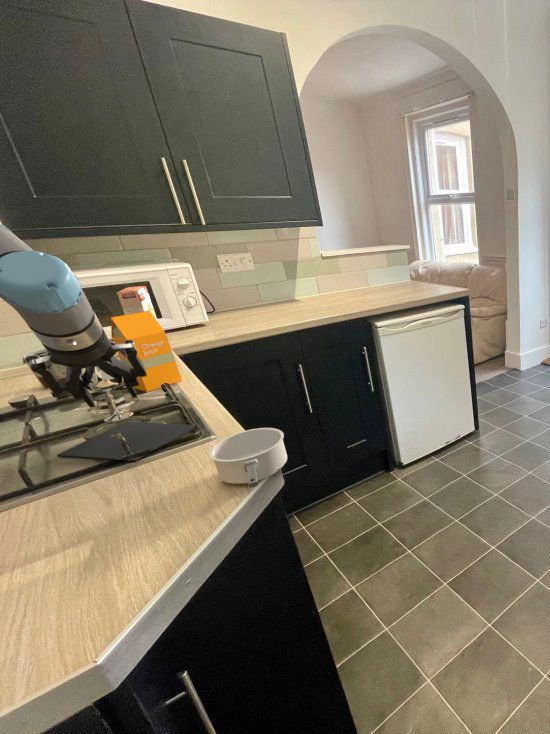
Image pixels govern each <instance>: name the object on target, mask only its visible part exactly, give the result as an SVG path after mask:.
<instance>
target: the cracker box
mask: <svg viewBox="0 0 550 734" xmlns="http://www.w3.org/2000/svg"><path fill="white" fill-rule="evenodd" d="M116 295H117V297H118V300H119V303H120V306H121V308H122V311H123V315H127V314H132V313H137V312H143V311H148V310H150V312H151V313H152V315H153V316H154V318H155V319H156V320H157V322H158V323H159V321H158V317H157V315H156V312H155V309H154V306H153V303H152V299H151V297H150V293H149V291H148V288H147V286H146V285H139V286H127V287H125V288H123V289H121V290H119V291H118V292H116Z"/></svg>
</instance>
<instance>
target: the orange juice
mask: <svg viewBox="0 0 550 734" xmlns="http://www.w3.org/2000/svg"><path fill="white" fill-rule="evenodd" d="M157 321H158V319H157V320H156V319H155V318H154V316H153V315H152V313H151V312H150V310H148V311H143V312H137V313H132V314H127V315H125V314H122V315H117V316H111V317H110V328H111V331H110V333H111V341H112V342H114V343H115V344H125V341H126V340H133V341H134V344H135V347H136V350H137V355H138V357H139V358H140V360H141V361H142V363H143V365H144V368H145V371H146V374H147V376H145V377H140V376H138V377H137V379H138V382H139V386H134V388H135V390H137V391H141V392H146V393H148V392H151V391H154V390H157V389H160V388H162V387H161V385H162V384H164V383H169V384H170V385H173V384H175V383H178V382H182V381H183V380H182V375H181V374H180V370H179V368H178V364H177V362H176V359H175V356H174V353H173V350H172V348H171V345H170V342H169V340H168V336H167V333H166V331H165V329H164V328H163V327H162V326H161V324H160V323H159V321H158V322H157ZM117 355H118V357H119V360H121V361H122V362H124V363H125V364H127V365H128V366H130V367H131V368H133V366H132V365H131V363H130V362H129V360H128V358H127V357H125V356H124V354H121V352H119V351H117Z"/></svg>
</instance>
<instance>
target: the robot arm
mask: <svg viewBox="0 0 550 734" xmlns="http://www.w3.org/2000/svg"><path fill="white" fill-rule="evenodd" d="M0 298H1V300H3V301H4V302H5V303H6V304H8V305H9V306H11V307H12V308H13V310H15V311H16V312H17V314H18V315H19V316H20V317H21V318H22V320H23V321H24V322H25V323H26V325H27V326H28V328H29V329H30V330H31V332H32V333H33V334H34V336H35V337H36V338H37V339H38V341H40V343H41V345H42V346H43V347H44V349H46V350H47V351H48V356H44V357H39V356H36V355H33V356H29V357H28V359H29V362H30V366H31V369H30V370H31V372H32V371H34V372H36V373H38V374H40V375H41V376H42V377H43V379H44V380H45V382H46V383H47V385H48V386H49V388H50V389H49V390H50V391H51V393H52V394H53V395H56V396H58V395H62V394H63V393H65V392H66V393H69V394H70V395H71V396H72V397H73V399H76V400H78V399H83V401H84V402H86V404H87V406H88V407H89V408H90V409H91V408H95V407H96V404H95V401H94V398H93V395H92V393H91V391H90V390H88V389H87V388H85V386H84V385H83V384H82V382H81V380H79V379H80V374H81V372H82V369H84V368H88V367H91V366H102V367H103V368H105V369H110V370H112V371H113V372H115V373H117V374H118V375H120V376H122V381H123V383H124V385H125V387H126V389H127V390H128V392H129V394H130V396H131V397H132V398H133V399H135V398H138V395H137V392H136V389H135V388H134V386H139V382H138V379H137V377H138V376H140V377H145V376H147V374H146V371H145V368H144V365H143V363H142V361H141V360H140V358H139V357H138V355H137V350H136V347H135V344H134V341H133V340H126V341H125V344H115V343H114V342H113V340H110V339H109V337H108V335H107V333H106V331H105V330H104V327H103V326H102V324H101V322H100V320H99V319H98V316H97V315H96V312H95V311H94V310H93V307H92V306H91V304H90V302H89V300H88V298H87V296H86V294H85V292H84V290H83V288H82V285H81V282H80V281H79V278H78V277H77V275H76V274H75V273H74V272H73V271H72V270H71V269H70V267H69V266H68V264H67V263H66V262H65V261H63V260H62V259H61V258H59V257H57V256H55V255H51V254H47V253H44V252H42V251H38V250H34V249H32V248H31V247H30V246H29V245H27V244H26V243H25V242H24V241H23V240H21V238H19V237H18V236H17V235H15V234H14V233H13V232H12V230H10V229H9V228H8V227H6V226H5V225H3V224H1V223H0ZM117 351H119V352H121V354H124V356H125V357H127V358H128V360H129V362H130V363H131V365H132V366H133V368H131V367H130V366H128V365H127V364H125V363H124V362H122V361H121V360H120V358H117V356H115V355H116V354H118V352H117ZM52 363H54V364H58V365H63V366H67V369H66V378H65V381H66V382H60V380H59V379H58V377H57V376H56V374H55V372H54V371H53V369H52V368H51V367H52Z"/></svg>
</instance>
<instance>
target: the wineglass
mask: <svg viewBox="0 0 550 734" xmlns="http://www.w3.org/2000/svg"><path fill="white" fill-rule="evenodd" d="M80 379H81V382H82V384H83V385H84V386H85V388H87V389H88V391H89V392H94V393H106V394H105V397H106V399H107V400H108V401H109V402H110V404H111V407H112V408H113V414H111V415H108V416H106V417H105V418H104V419H103V421H104V422H105V423H111V422H112V423H113V422H118V421H122V420H126V419H128V418H130V417H132V416H133V415H134V412H133V411H120V410H119V409H118V407H117V405H116V403H115V396H114V394H113V393H112V392H111V391H114V390H116V389H117V388H119V387H120V386H121V385H122V383H123V377H122V376H120V375H118V374H117V373H115V372H113V371H112V370H110V369H105V368H103V367H102V366H91V367H88V368H84V369H82V372H81V374H80Z"/></svg>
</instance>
